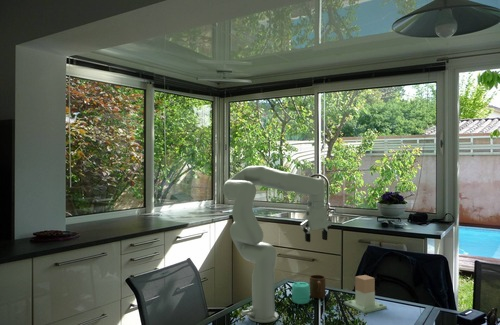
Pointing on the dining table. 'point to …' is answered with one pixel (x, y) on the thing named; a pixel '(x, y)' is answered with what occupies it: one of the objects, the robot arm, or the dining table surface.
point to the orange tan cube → (365, 284)
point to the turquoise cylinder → (300, 293)
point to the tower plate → (365, 309)
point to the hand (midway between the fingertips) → (316, 240)
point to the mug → (317, 286)
